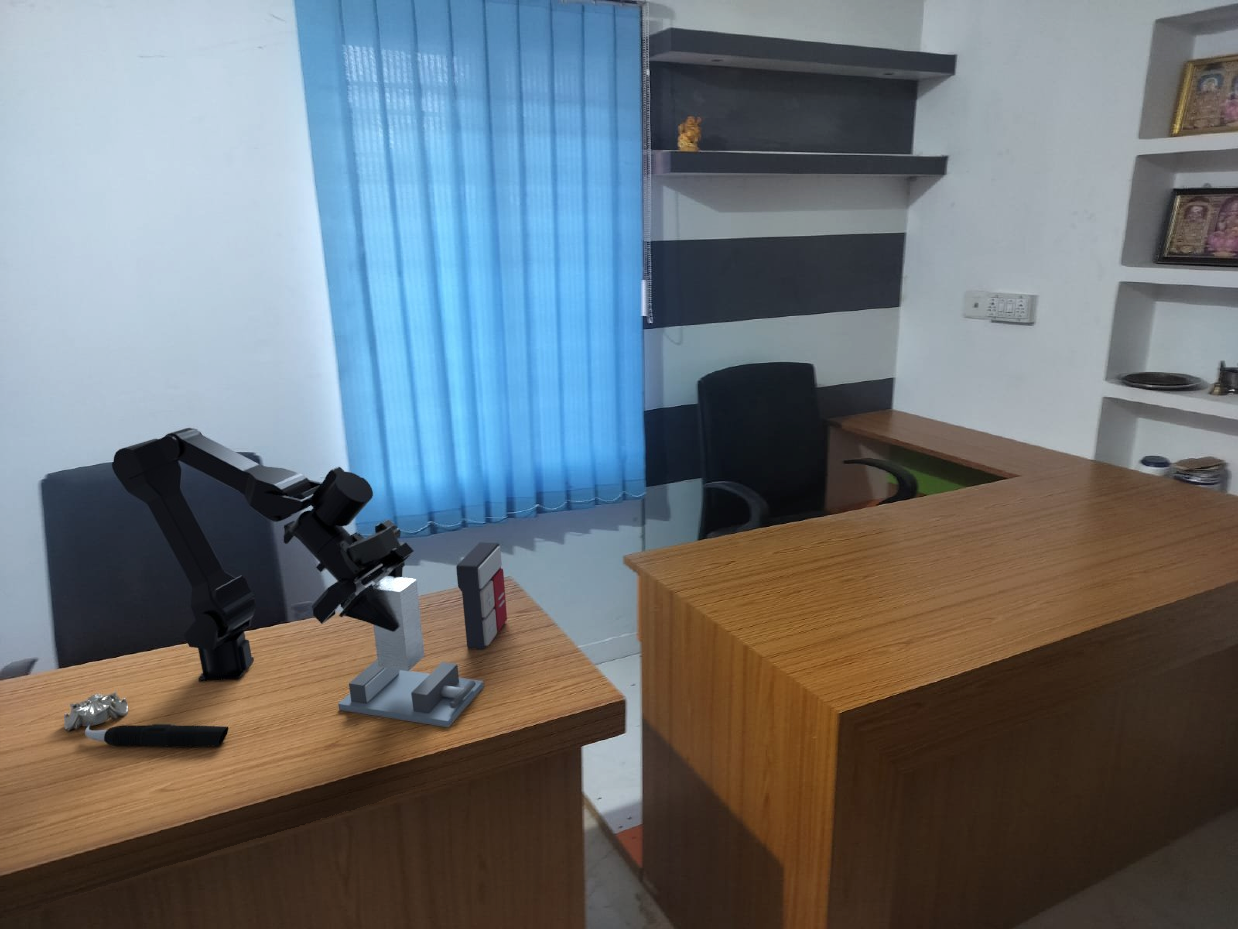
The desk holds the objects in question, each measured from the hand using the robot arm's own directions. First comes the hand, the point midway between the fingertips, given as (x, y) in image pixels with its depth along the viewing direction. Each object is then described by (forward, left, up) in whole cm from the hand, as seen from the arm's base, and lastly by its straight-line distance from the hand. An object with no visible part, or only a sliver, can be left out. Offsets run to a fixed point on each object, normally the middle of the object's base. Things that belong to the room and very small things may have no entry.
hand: (405, 622), depth 120 cm
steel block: (-1, 0, -7) cm, 7 cm away
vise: (0, 0, -12) cm, 13 cm away
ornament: (-46, -1, -13) cm, 48 cm away
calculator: (+9, +19, -13) cm, 25 cm away
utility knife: (-34, -8, -13) cm, 37 cm away
